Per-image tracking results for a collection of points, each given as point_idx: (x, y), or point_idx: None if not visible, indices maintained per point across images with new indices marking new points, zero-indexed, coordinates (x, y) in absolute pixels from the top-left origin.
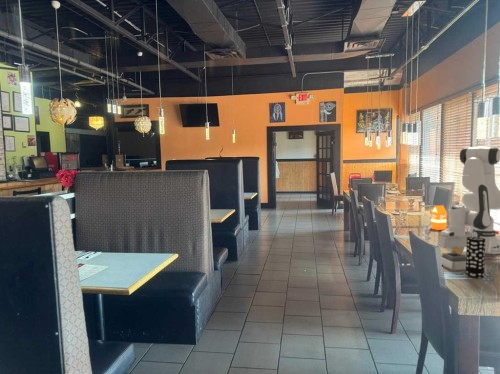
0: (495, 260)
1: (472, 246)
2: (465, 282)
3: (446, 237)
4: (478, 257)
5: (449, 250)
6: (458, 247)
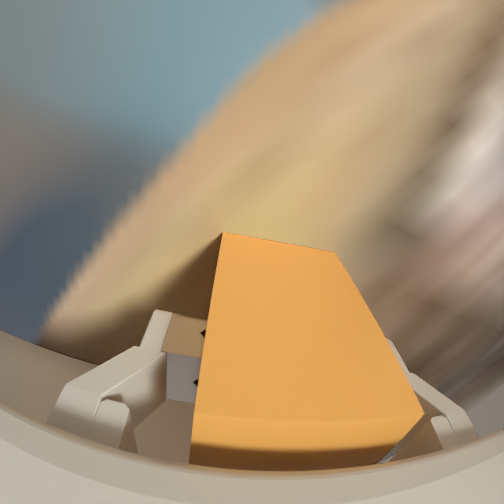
0: (493, 391)
1: None
2: None
3: None
4: None
5: (109, 362)
6: (384, 453)
